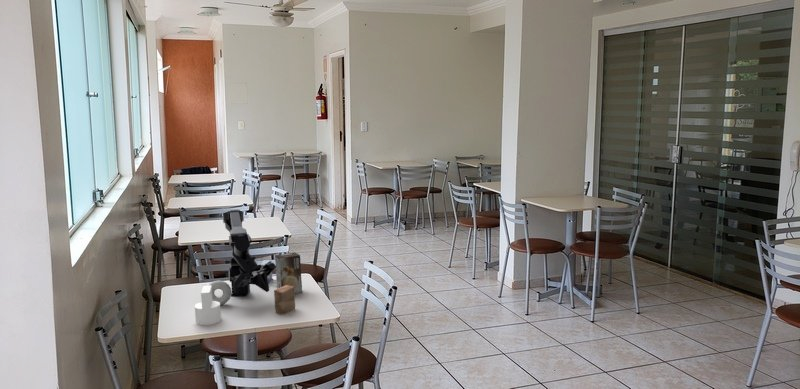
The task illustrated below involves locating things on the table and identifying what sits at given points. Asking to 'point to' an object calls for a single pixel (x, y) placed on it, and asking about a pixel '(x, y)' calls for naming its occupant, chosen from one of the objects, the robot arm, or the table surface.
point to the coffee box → (288, 271)
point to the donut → (224, 288)
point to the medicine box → (263, 266)
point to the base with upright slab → (207, 308)
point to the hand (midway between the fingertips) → (268, 291)
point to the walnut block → (284, 299)
